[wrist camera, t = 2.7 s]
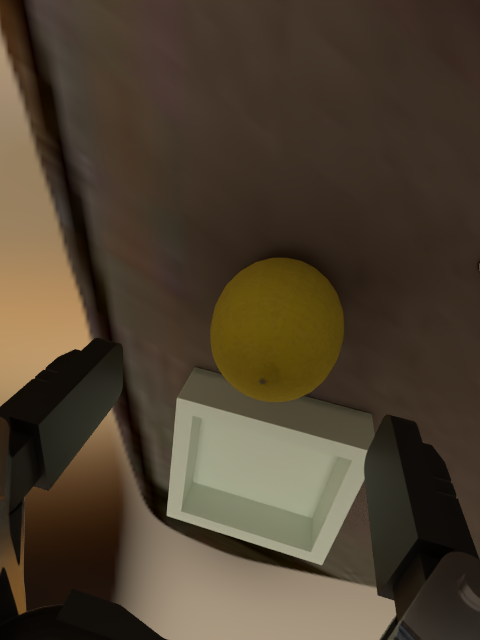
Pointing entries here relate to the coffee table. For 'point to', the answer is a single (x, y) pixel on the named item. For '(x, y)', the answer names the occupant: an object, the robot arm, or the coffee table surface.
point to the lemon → (277, 330)
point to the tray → (265, 466)
